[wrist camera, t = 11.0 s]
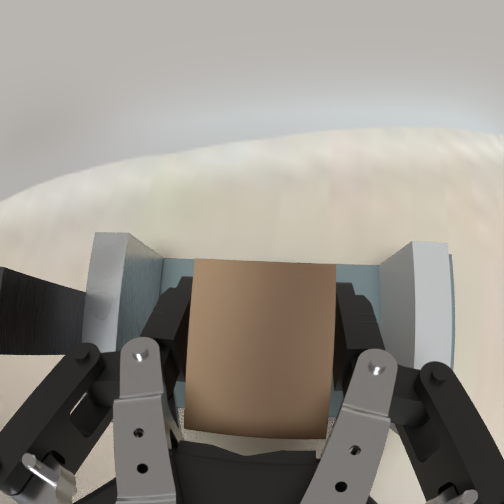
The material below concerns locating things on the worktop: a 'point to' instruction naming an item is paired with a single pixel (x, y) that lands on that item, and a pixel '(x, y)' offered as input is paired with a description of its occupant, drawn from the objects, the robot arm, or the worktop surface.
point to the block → (260, 348)
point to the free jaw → (82, 302)
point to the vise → (386, 305)
